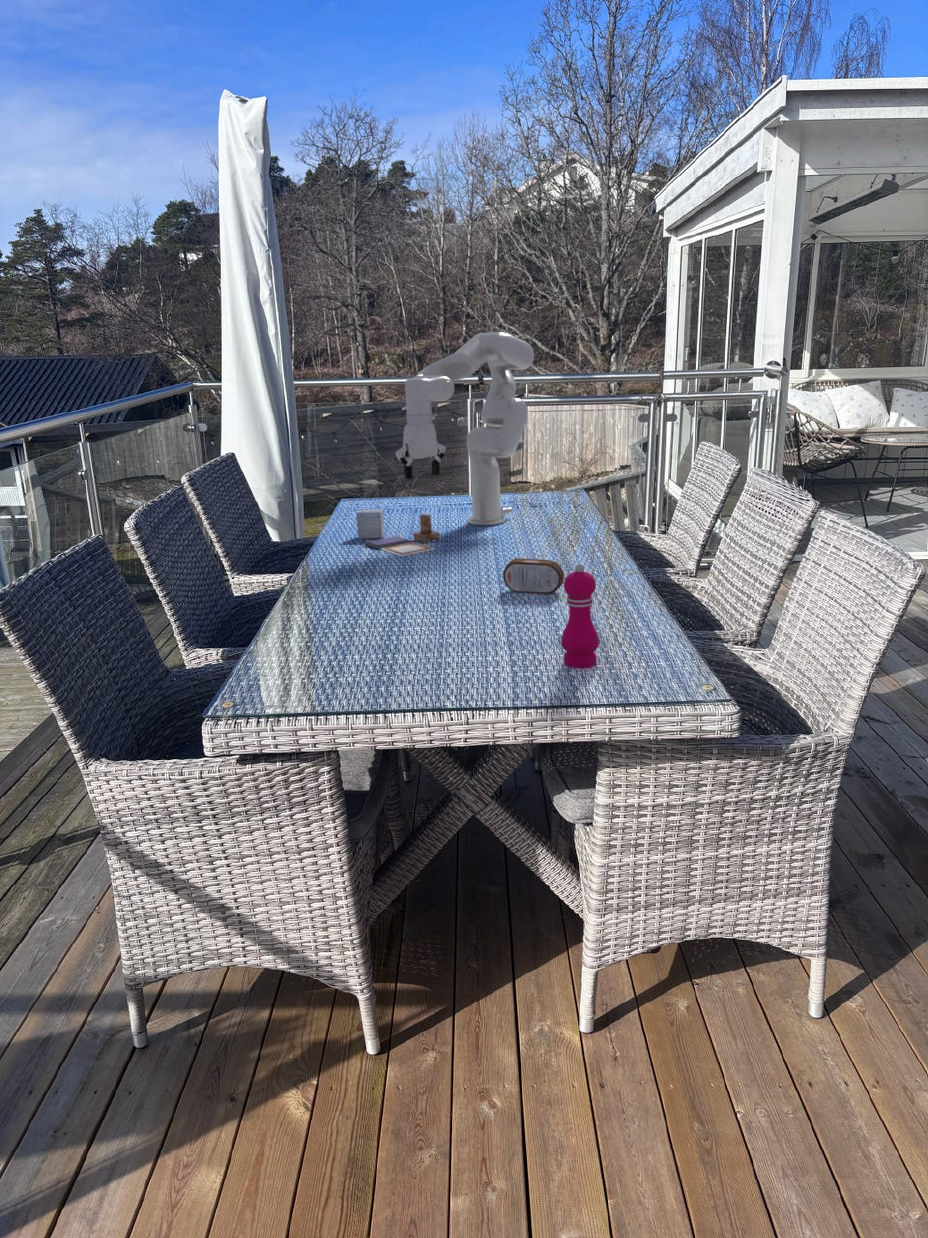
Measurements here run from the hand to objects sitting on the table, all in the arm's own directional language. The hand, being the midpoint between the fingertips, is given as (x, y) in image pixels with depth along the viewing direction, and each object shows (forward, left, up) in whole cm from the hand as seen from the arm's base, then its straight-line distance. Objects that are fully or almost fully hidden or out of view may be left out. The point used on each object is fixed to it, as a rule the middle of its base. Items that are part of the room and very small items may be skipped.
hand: (422, 476), depth 274 cm
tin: (+11, +68, -20) cm, 72 cm away
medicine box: (+11, -16, -20) cm, 28 cm away
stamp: (0, 0, -20) cm, 20 cm away
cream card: (+11, +7, -20) cm, 24 cm away
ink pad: (+12, -4, -20) cm, 23 cm away
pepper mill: (+34, +112, -20) cm, 119 cm away
